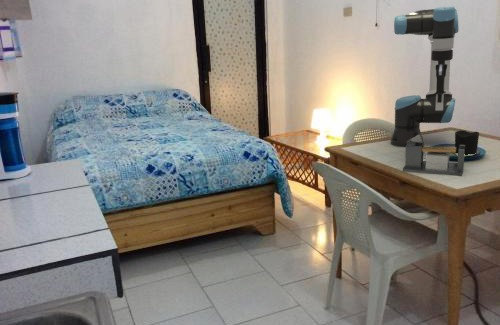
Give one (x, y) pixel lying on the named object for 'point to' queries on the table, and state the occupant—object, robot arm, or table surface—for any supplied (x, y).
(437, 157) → the base
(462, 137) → the pen holder
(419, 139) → the electrical switch
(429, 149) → the strap
